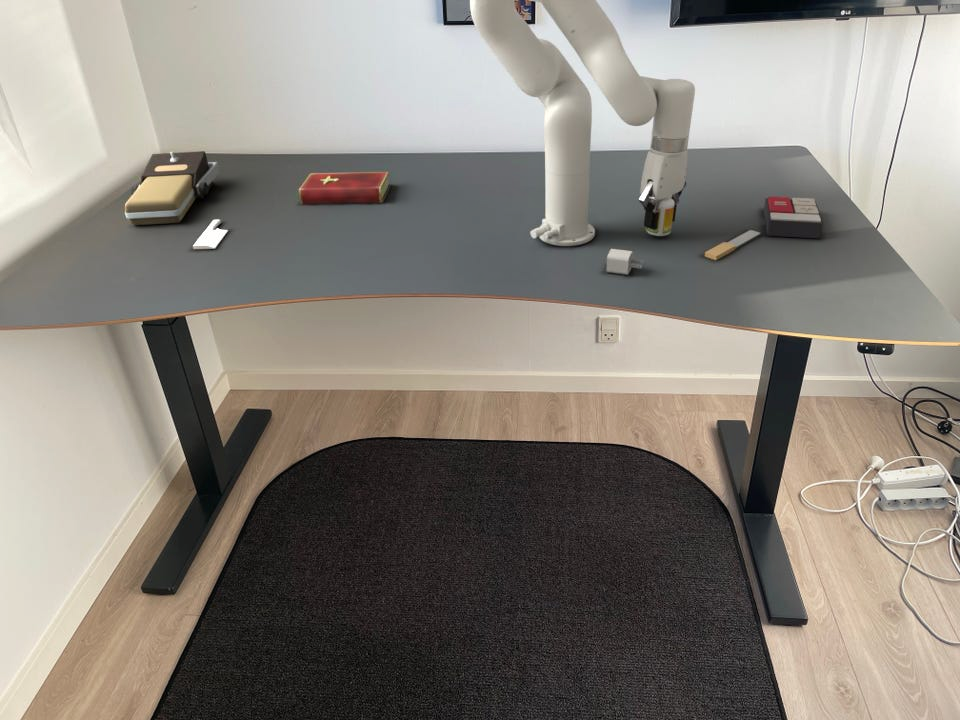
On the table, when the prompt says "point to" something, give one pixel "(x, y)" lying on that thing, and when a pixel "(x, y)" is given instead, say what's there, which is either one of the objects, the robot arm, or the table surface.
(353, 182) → the hardcover book
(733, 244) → the chisel
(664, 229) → the supplement bottle
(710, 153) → the table surface
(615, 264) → the usb wall charger
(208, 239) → the butcher knife
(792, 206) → the calculator
